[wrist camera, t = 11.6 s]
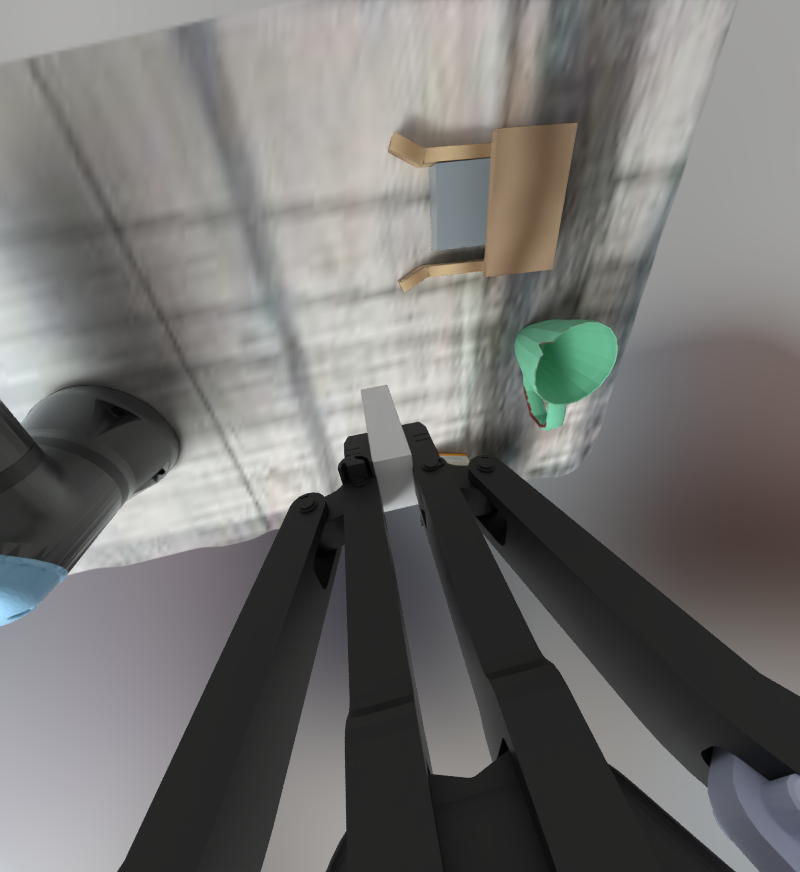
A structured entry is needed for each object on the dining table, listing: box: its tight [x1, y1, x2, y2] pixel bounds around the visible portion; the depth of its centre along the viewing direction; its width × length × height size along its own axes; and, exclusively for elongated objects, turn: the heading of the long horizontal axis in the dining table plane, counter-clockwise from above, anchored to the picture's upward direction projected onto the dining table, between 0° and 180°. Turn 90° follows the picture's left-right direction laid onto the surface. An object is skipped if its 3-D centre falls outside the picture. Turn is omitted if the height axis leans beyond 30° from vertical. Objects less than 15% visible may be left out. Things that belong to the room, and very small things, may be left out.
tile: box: [429, 158, 491, 251], centre depth 32 cm, size 9×7×3 cm
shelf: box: [388, 123, 578, 292], centre depth 30 cm, size 15×13×7 cm
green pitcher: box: [514, 319, 618, 430], centre depth 40 cm, size 15×10×10 cm
